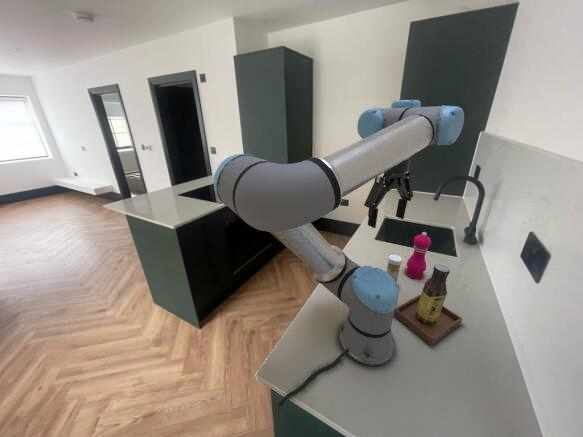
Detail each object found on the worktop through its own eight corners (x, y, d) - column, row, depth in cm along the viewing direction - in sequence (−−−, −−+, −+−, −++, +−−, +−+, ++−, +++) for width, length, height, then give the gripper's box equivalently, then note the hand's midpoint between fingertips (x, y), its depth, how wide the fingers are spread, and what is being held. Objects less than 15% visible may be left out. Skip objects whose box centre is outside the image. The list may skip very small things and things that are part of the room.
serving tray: (431, 346, 67) (433, 339, 66) (393, 314, 78) (394, 308, 76) (460, 324, 74) (462, 318, 72) (421, 298, 84) (423, 292, 83)
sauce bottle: (428, 328, 71) (445, 277, 63) (411, 314, 77) (424, 265, 68) (441, 320, 74) (459, 270, 66) (423, 307, 79) (437, 259, 71)
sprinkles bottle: (390, 281, 93) (395, 253, 88) (398, 288, 89) (405, 259, 84) (380, 283, 92) (386, 255, 86) (389, 291, 88) (395, 262, 82)
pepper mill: (426, 280, 93) (438, 237, 85) (407, 278, 94) (417, 235, 86) (420, 269, 100) (431, 228, 91) (402, 268, 101) (412, 227, 93)
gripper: (377, 164, 61) (367, 235, 69) (434, 155, 71) (419, 217, 80) (356, 160, 67) (350, 225, 75) (412, 152, 77) (401, 210, 86)
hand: (386, 221), depth 78 cm, fingers open, 13 cm apart
